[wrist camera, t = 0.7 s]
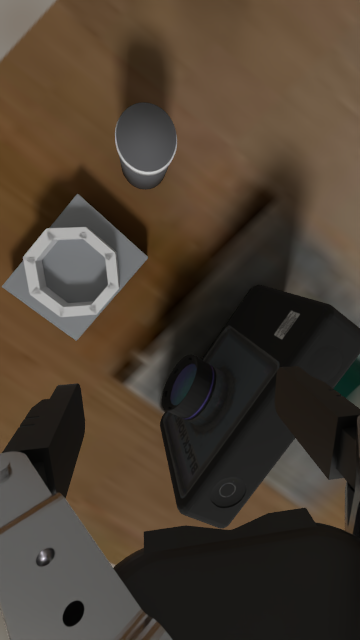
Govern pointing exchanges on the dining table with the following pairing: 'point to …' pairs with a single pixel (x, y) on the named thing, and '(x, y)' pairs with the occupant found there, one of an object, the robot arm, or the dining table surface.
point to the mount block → (75, 268)
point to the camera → (245, 398)
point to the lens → (145, 144)
